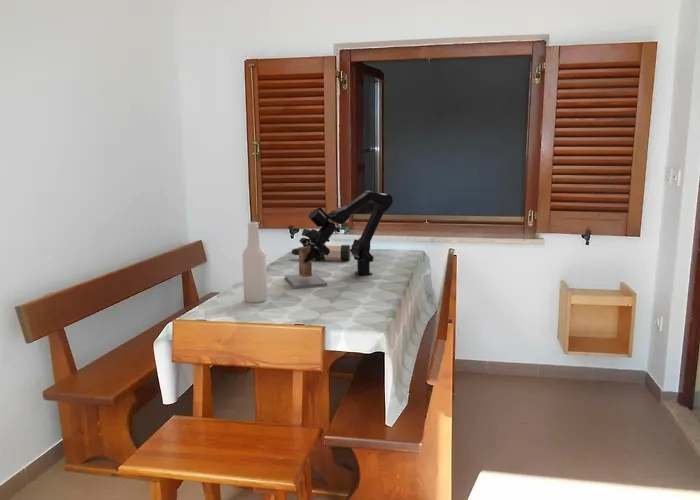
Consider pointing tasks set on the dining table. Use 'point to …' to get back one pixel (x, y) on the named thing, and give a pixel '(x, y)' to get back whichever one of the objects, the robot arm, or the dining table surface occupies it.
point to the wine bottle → (333, 253)
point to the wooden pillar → (304, 268)
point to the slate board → (305, 281)
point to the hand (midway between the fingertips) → (302, 261)
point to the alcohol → (254, 267)
